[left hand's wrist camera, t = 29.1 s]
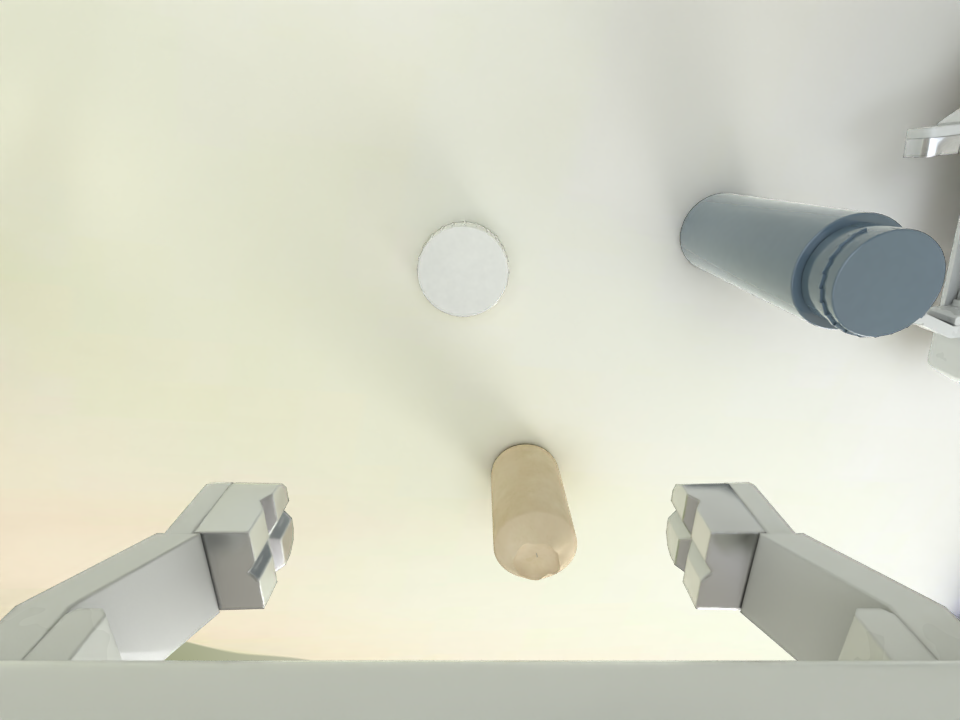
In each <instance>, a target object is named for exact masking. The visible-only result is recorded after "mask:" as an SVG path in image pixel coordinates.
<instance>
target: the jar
mask: <svg viewBox="0 0 960 720" xmlns="http://www.w3.org/2000/svg"><path fill="white" fill-rule="evenodd" d="M680 243H681V248H682V251H683V253H684V255H685V257H686V258H687V260H688V261H689V262H690V263H691V264H693V265H694V266H696V267H698V268H700V269H702V270H704V271H706V272H708V273H710V274H712V275H714V276H716V277H718V278H720V279H722V280H724V281H726V282H728V283H730V284H732V285H734V286H736V287H738V288H740V289H742V290H744V291H746V292H748V293H750V294H752V295H754V296H756V297H758V298H760V299H762V300H764V301H766V302H768V303H770V304H772V305H774V306H776V307H778V308H780V309H782V310H784V311H786V312H788V313H790V314H792V315H794V316H796V317H798V318H800V319H802V320H804V321H806V322H808V323H810V324H812V325H814V326H817V327H820V328H824V329H831V330H841V331H842V332H844V333H847V334H851V335H855V336H858V337H875V338H876V337H879V336H885V335H889V334H893V333H895V332H898V331H900V330H902V329H904V328H908V327H909V326H910V325H911V324H913V323H914V322H916V321H917V320H918V319H919V318H922V317H923V316H924V315H925V314H926V312H927V311H928V310H929V309H930V307H931V306H932V305H933V303H934V302H935V300H936V299H937V297H938V295H939V293H940V291H941V288H942V286H943V283H944V279H945V272H946V263H945V257H944V254H943V251H942V250H941V248H940V246H939V245H938V243H937V242H936V241H935V240H934V239H933V238H932V237H930V236H929V235H927V234H925V233H923V232H921V231H918V230H913V229H908V228H902V226H901V225H900V224H898V223H897V222H896V221H895V220H893V219H891V218H890V217H888V216H885V215H882V214H878V213H872V212H865V211H858V210H850V209H843V208H836V207H828V206H821V205H813V204H806V203H799V202H791V201H784V200H776V199H769V198H762V197H754V196H747V195H739V194H732V193H719V194H715V195H712V196H709V197H707V198H705V199H703V200H702V201H700V202H699V203H698V204H696V205H695V206H694V207H693V208H692V209H691V211H690V212H689V213H688V215H687V217H686V218H685V220H684V222H683V225H682V229H681V234H680Z"/></svg>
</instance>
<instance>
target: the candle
mask: <svg viewBox="0 0 960 720" xmlns="http://www.w3.org/2000/svg"><path fill="white" fill-rule="evenodd" d="M491 490H492V517H493V544H494V553H495V556H496V559H497V560H498V562H499V563H500V565H501V566H502V567H503V568H504V569H506V570H507V571H508V572H510V573H512V574H514V575H517V576H519V577H523V578H527V579H530V580H540V579H543V578H546V577H549V576H552V575H554V574H557V573H558V572H560V571H561V570H563V569H564V568H565V567H566V566H567V565H568V564H569V563H570V562H571V561H572V559H573V557H574V556H575V553H576V549H577V538H576V534H575V530H574V526H573V522H572V518H571V515H570V511H569V507H568V503H567V499H566V495H565V491H564V487H563V483H562V480H561V476H560V472H559V469H558V465H557V463H556V461H555V459H554V458H553V456H552V455H551V454H550V453H549V452H547V451H546V450H545V449H543V448H541V447H538V446H535V445H529V444H523V445H517V446H513V447H511V448H508V449H507V450H505V451H504V452H502V453H501V454H500V455H499V456H498V457H497V459H496V460H495V462H494V464H493V467H492V472H491Z"/></svg>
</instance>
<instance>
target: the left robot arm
mask: <svg viewBox="0 0 960 720" xmlns="http://www.w3.org/2000/svg"><path fill="white" fill-rule="evenodd" d="M288 502H289V498H288V493H287V488H286V487H285V486H284V485H283V484H282V483H233V482H212V483H209V484H206V485H205V486H204V487H203V489H202V490H201V491H200V492H199V493H198V494H197V496H196V497H195V498H194V499H193V500H192V502H191V503H190V504H189V505H188V506H187V507H186V509H185V510H184V511H183V512H182V513H181V514H180V516H179V517H178V518H177V519H176V520H175V521H174V523H173V524H172V525H171V526H170V527H169V529H168V530H167V531H166V532H165V533H156V534H154V535H152V536H151V537H149V538H147V539H145V540H143V541H141V542H139V543H137V544H135V545H133V546H131V547H129V548H127V549H125V550H123V551H121V552H120V553H118V554H116V555H114V556H112V557H110V558H108V559H106V560H104V561H102V562H100V563H98V564H96V565H94V566H92V567H90V568H88V569H87V570H85V571H83V572H81V573H79V574H77V575H75V576H73V577H71V578H69V579H67V580H65V581H63V582H61V583H59V584H57V585H56V586H54V587H52V588H50V589H48V590H46V591H44V592H42V593H40V594H38V595H36V596H34V597H32V598H30V599H28V600H26V601H24V602H23V603H21V604H19V605H17V606H15V607H14V608H13V609H12V610H11V611H10V612H9V613H8V614H7V615H6V616H5V617H4V618H3V619H2V620H0V720H960V620H959V619H958V618H957V617H956V616H955V615H954V614H952V613H951V612H950V611H949V610H948V609H947V608H946V607H945V606H943V605H941V604H939V603H937V602H935V601H933V600H931V599H929V598H927V597H925V596H924V595H922V594H920V593H918V592H916V591H914V590H912V589H910V588H908V587H906V586H904V585H902V584H900V583H898V582H896V581H895V580H893V579H891V578H889V577H887V576H885V575H883V574H881V573H879V572H877V571H875V570H873V569H871V568H869V567H867V566H866V565H864V564H862V563H860V562H858V561H856V560H854V559H852V558H850V557H848V556H846V555H844V554H842V553H840V552H838V551H836V550H835V549H833V548H831V547H829V546H827V545H825V544H823V543H821V542H819V541H817V540H815V539H813V538H811V537H809V536H807V535H806V534H804V533H795V532H794V531H793V530H792V529H791V527H790V526H789V525H788V524H787V523H786V522H785V520H784V519H783V518H782V517H781V516H780V514H779V513H778V512H777V511H776V510H775V509H774V507H773V506H772V505H771V504H770V503H769V502H768V500H767V499H766V498H765V497H764V496H763V495H762V493H761V492H760V491H759V490H758V489H757V488H756V486H755V485H753V484H751V483H749V482H736V483H720V484H676V485H675V487H674V489H673V492H672V497H671V502H672V503H673V505H674V507H675V509H676V511H675V512H674V513H673V514H672V515H671V516H670V517H669V518H668V522H667V530H666V534H667V546H668V549H669V553H670V556H671V558H672V560H673V562H674V565H676V566H677V567H678V568H680V569H681V570H683V571H684V578H683V583H684V585H685V587H686V590H687V592H688V594H689V596H690V598H691V600H692V602H693V604H694V606H695V608H696V609H721V610H741V611H740V612H741V613H742V614H743V615H744V616H745V617H747V618H748V619H749V620H750V621H751V622H752V623H754V624H755V625H756V626H757V627H758V628H759V629H761V630H762V631H763V632H764V633H765V634H766V635H768V636H769V637H770V638H771V639H772V640H773V641H775V642H776V643H777V644H778V645H779V646H780V647H782V648H783V649H784V650H785V651H786V652H787V653H789V654H790V655H791V656H792V657H793V658H794V659H796V660H797V661H163V660H164V659H166V658H167V657H168V656H169V655H170V654H171V653H173V652H174V651H175V650H176V649H177V648H179V647H180V646H181V645H182V644H183V643H184V642H186V641H187V640H188V639H189V638H190V637H191V636H193V635H194V634H195V633H196V632H197V631H198V630H200V629H201V628H202V627H203V626H204V625H205V624H207V623H208V622H209V621H210V620H211V619H212V618H214V617H215V616H216V615H217V614H218V613H219V610H239V609H264V608H265V606H266V604H267V602H268V600H269V598H270V596H271V594H272V592H273V590H274V587H275V585H276V583H277V578H276V571H277V570H279V569H280V568H282V567H283V566H284V565H286V562H287V560H288V558H289V556H290V553H291V549H292V544H293V522H292V518H291V517H290V516H289V515H288V514H287V513H286V512H285V511H284V509H285V507H286V505H287V503H288Z"/></svg>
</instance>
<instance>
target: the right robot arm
mask: <svg viewBox="0 0 960 720" xmlns="http://www.w3.org/2000/svg"><path fill="white" fill-rule="evenodd" d="M959 148H960V108H959V109H957V110H956V111H954V112H953V113H952V114H950V115H949V116H947V117H946V118H944V119H943V120H941V121H940V122H938V123H937V126H931V127H923V128H914V129H908V130H907V136H906V142H905V149H904V156H903V158H909V157H914V158H918V157H932V156H937V155H949V154H957V153H958V152H959ZM914 324H915V325H917V326H919V327H921V328H924V329H926V330H929V331H932V332H934V334H933V338H932V343H931V347H930V351H929V355H928V363H929V365H930V366H931V367H932V368H934V369H935V370H936V371H938V372H939V373H940V374H942V375H943V376H945V377H947V378H949V379H951V380H953V381H955V382H957V383H959V384H960V215H959V220H958V224H957V229H956V233H955V238H954V243H953V247H952V252H951V256H950V261H949V265H948V270H947V274H946V279H945V284H944V288H943V293H942V297H941V302H940V306H935V307H930V309H929V310H928V311H927V312H926V314H925V315H924V316H923V317H922V318H919V319H918V320H917V321H916V322H914V323H913V324H911V325H914Z"/></svg>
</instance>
